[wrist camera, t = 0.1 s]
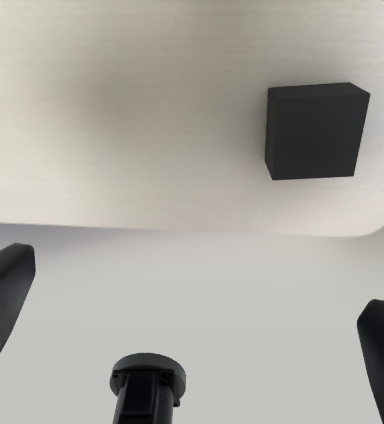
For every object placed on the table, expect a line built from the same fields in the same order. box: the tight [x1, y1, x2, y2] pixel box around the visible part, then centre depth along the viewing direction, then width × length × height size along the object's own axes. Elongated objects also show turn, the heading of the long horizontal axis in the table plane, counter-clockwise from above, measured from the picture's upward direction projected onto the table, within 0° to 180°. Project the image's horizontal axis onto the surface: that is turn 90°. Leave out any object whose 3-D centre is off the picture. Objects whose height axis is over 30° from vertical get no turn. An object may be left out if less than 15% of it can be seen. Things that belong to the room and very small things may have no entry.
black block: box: [265, 83, 370, 180], centre depth 21 cm, size 5×5×3 cm
